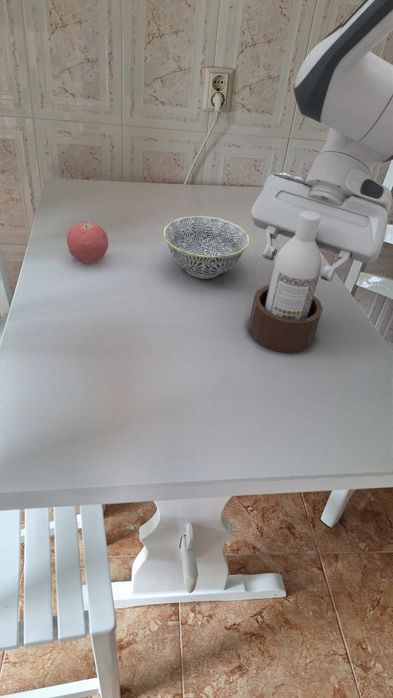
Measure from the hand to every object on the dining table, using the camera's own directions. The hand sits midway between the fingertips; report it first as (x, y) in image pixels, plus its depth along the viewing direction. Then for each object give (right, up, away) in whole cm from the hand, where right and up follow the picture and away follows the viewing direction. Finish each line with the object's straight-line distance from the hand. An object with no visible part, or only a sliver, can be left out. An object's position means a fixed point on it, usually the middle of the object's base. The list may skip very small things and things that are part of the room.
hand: (295, 268), depth 73 cm
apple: (-36, +5, +21) cm, 41 cm away
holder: (-1, -9, +8) cm, 12 cm away
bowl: (-14, +3, +22) cm, 26 cm away
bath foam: (-1, -9, +8) cm, 12 cm away
